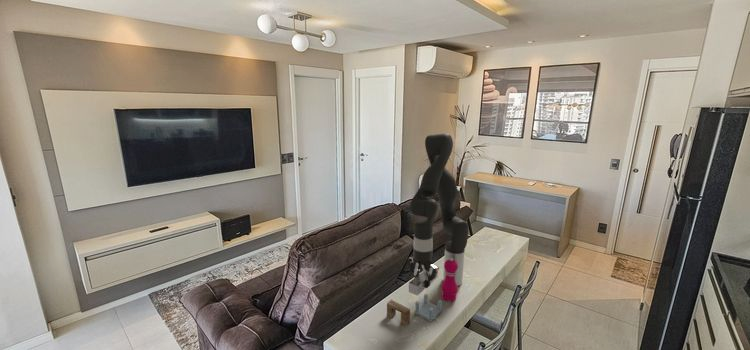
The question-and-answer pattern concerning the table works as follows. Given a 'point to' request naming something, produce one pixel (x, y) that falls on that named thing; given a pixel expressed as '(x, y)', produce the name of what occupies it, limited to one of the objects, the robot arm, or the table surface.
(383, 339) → the table surface
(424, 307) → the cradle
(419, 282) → the steel bar
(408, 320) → the wooden arch block
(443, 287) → the pepper mill
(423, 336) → the table surface
